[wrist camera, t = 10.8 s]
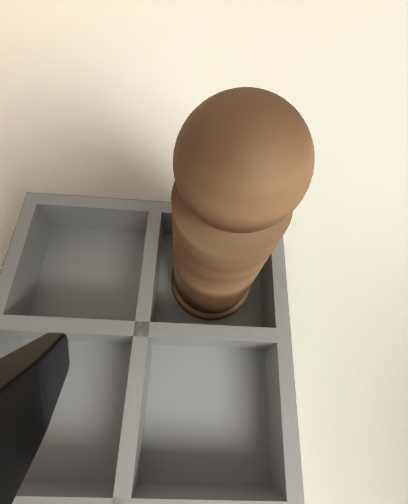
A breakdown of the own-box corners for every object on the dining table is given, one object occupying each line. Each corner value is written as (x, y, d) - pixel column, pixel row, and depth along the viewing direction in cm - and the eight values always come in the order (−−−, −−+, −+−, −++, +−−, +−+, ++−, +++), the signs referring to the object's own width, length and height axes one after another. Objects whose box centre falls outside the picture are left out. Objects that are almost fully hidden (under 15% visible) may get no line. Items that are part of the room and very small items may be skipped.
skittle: (263, 293, 21) (392, 134, 8) (199, 336, 20) (236, 222, 7) (219, 235, 23) (271, 27, 10) (157, 270, 21) (123, 79, 9)
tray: (295, 720, 14) (329, 816, 11) (-94, 725, 13) (-183, 832, 10) (267, 234, 24) (280, 209, 21) (47, 220, 23) (26, 192, 20)
